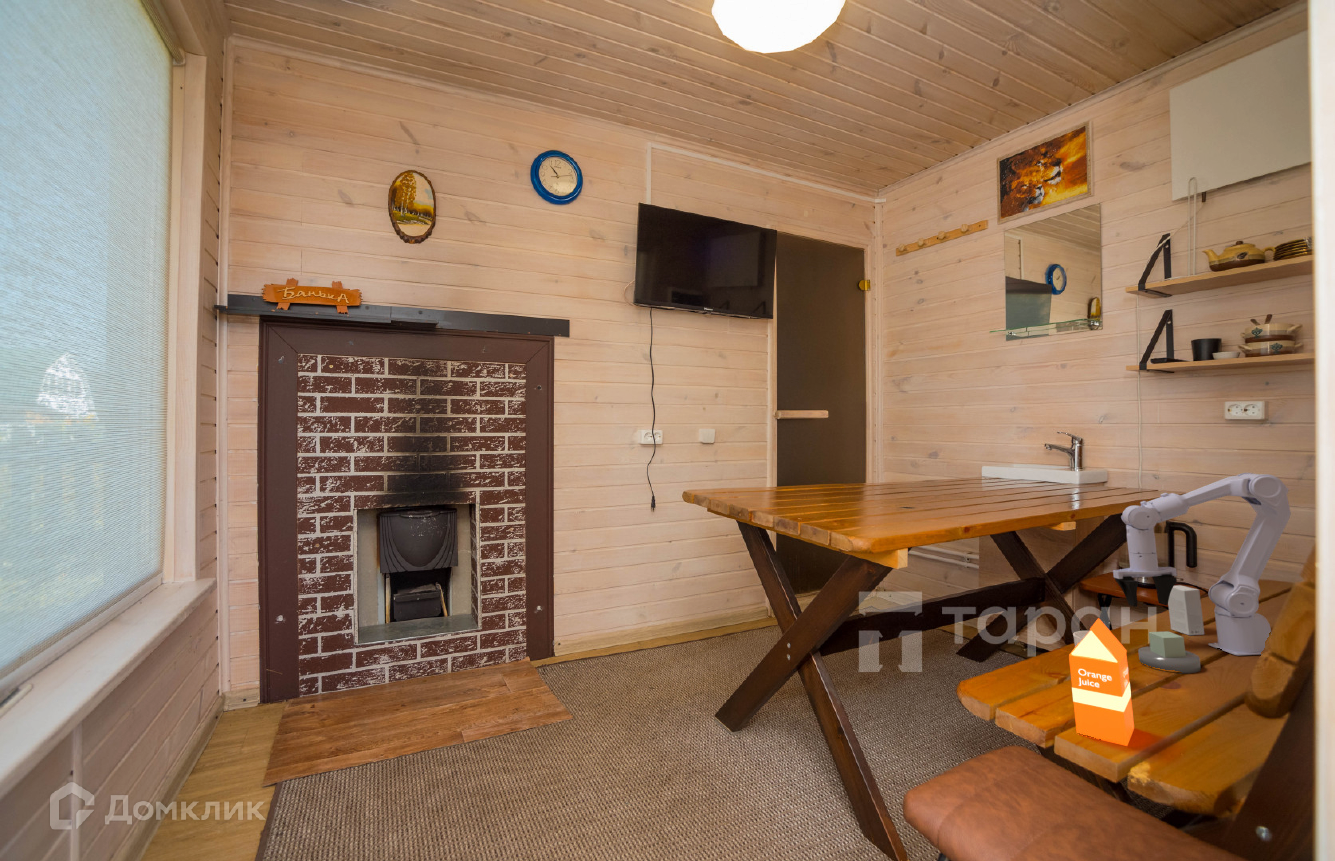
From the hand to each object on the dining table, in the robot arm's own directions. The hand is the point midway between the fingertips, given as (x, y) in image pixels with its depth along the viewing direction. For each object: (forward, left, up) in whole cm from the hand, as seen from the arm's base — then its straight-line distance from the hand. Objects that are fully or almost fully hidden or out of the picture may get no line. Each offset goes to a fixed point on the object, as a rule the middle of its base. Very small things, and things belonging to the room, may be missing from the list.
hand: (1148, 605), depth 150 cm
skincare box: (-16, -9, -11) cm, 21 cm away
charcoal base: (+6, +13, -10) cm, 18 cm away
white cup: (+27, +20, -11) cm, 35 cm away
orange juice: (+41, +43, -11) cm, 60 cm away
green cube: (+6, +13, -8) cm, 16 cm away
